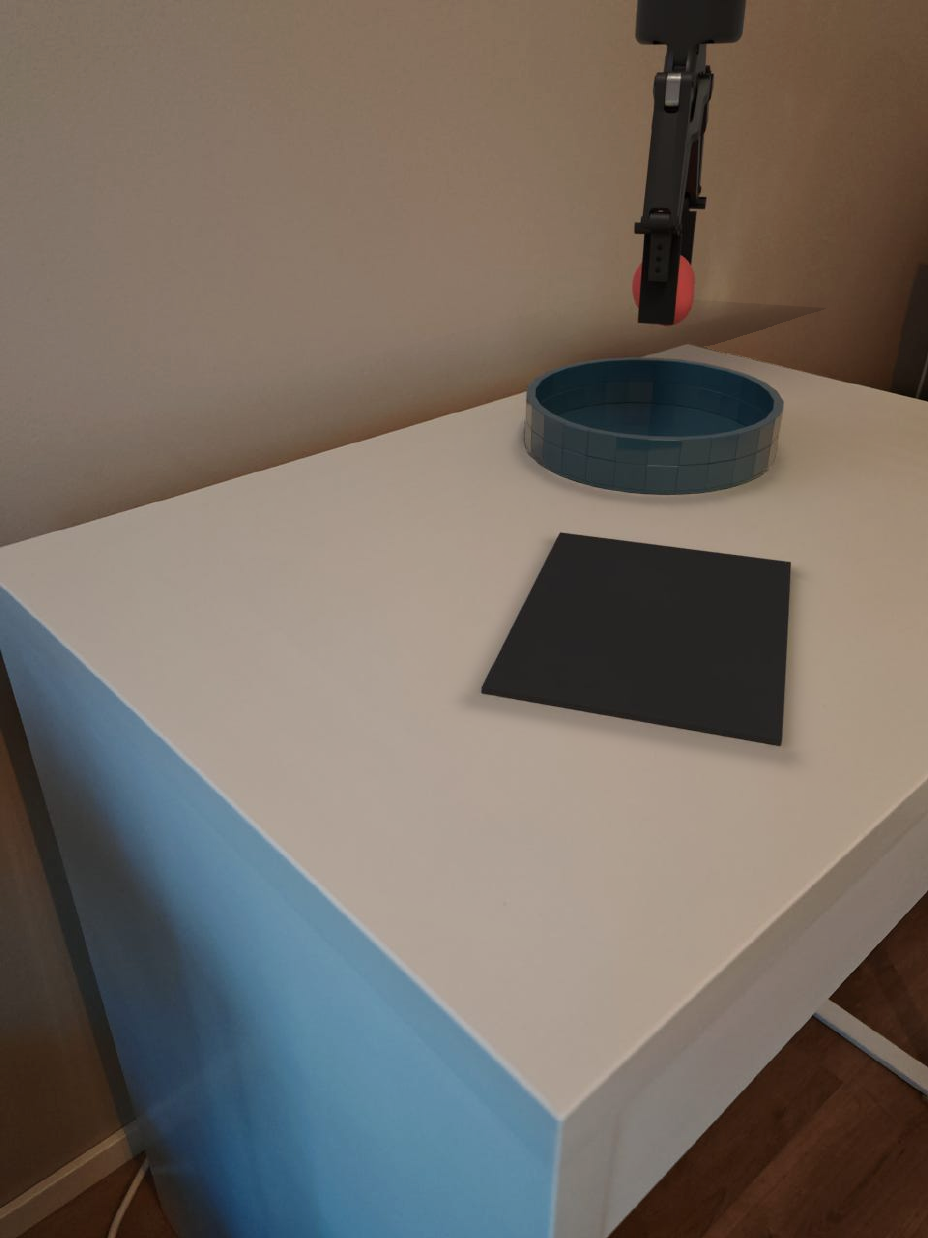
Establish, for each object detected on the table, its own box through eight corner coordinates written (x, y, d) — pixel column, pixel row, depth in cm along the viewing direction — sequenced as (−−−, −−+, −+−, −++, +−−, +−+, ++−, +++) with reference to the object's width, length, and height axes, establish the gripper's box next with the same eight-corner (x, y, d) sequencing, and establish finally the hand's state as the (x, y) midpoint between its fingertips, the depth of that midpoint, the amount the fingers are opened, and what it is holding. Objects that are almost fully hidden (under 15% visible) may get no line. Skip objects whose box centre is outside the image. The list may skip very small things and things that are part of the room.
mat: (790, 566, 66) (791, 561, 65) (781, 746, 49) (782, 739, 49) (559, 536, 70) (559, 531, 70) (481, 693, 53) (481, 687, 53)
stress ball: (605, 339, 78) (631, 277, 73) (635, 275, 83) (661, 212, 78) (665, 364, 78) (694, 303, 73) (691, 299, 83) (721, 237, 78)
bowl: (779, 414, 91) (787, 367, 89) (769, 508, 74) (779, 452, 71) (555, 394, 97) (556, 349, 94) (496, 476, 79) (497, 424, 77)
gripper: (660, -16, 77) (639, 275, 89) (611, -27, 59) (593, 340, 71) (757, -19, 75) (722, 279, 87) (737, -32, 57) (697, 347, 69)
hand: (664, 306), depth 79 cm, fingers closed on stress ball, 10 cm apart
